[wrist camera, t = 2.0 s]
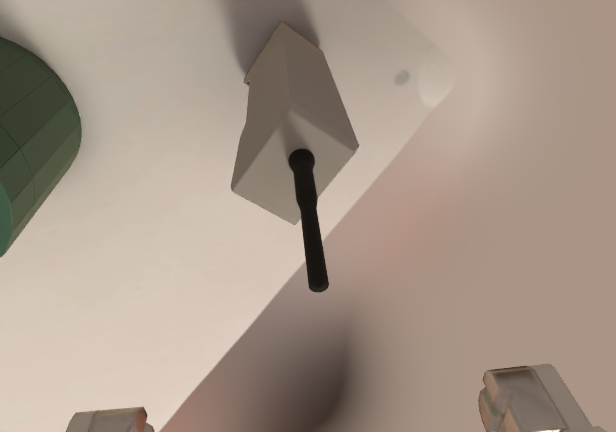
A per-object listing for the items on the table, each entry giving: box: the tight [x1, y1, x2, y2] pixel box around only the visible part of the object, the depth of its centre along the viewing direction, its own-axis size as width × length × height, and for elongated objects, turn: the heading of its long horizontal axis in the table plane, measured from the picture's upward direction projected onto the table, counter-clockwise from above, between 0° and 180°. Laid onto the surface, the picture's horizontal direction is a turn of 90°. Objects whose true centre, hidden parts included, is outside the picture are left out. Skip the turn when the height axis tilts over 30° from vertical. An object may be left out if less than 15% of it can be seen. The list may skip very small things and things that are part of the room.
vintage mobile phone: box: [231, 22, 359, 292], centre depth 24 cm, size 4×5×25 cm
